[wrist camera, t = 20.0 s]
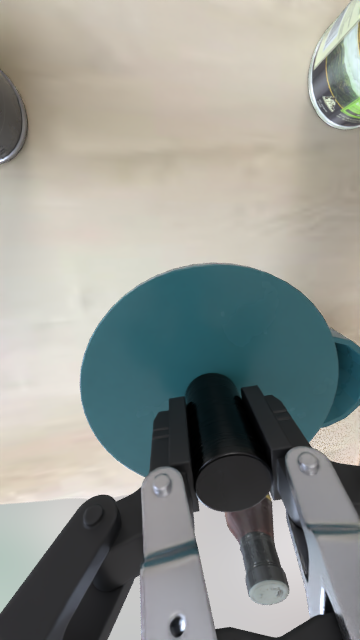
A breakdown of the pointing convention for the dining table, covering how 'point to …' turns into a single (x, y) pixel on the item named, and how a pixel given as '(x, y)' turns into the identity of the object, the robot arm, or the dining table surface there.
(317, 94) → the coffee can
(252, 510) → the sauce bottle
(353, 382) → the pot
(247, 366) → the pot lid
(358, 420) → the dining table surface
